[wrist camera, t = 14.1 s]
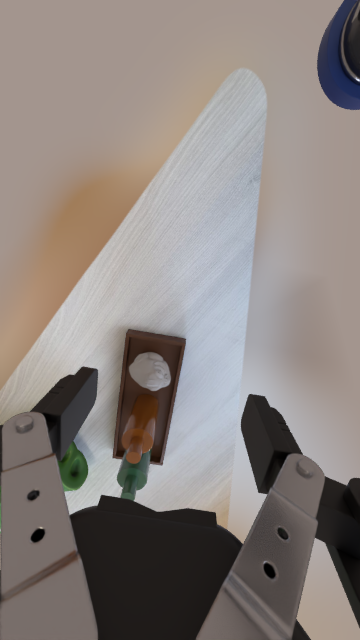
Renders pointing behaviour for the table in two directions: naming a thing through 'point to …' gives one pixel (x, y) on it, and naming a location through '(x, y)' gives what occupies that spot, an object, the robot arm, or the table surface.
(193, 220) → the table surface
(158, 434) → the tray
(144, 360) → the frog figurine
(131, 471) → the green bottle
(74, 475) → the piggy bank
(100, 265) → the table surface
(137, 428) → the amber bottle
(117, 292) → the table surface
